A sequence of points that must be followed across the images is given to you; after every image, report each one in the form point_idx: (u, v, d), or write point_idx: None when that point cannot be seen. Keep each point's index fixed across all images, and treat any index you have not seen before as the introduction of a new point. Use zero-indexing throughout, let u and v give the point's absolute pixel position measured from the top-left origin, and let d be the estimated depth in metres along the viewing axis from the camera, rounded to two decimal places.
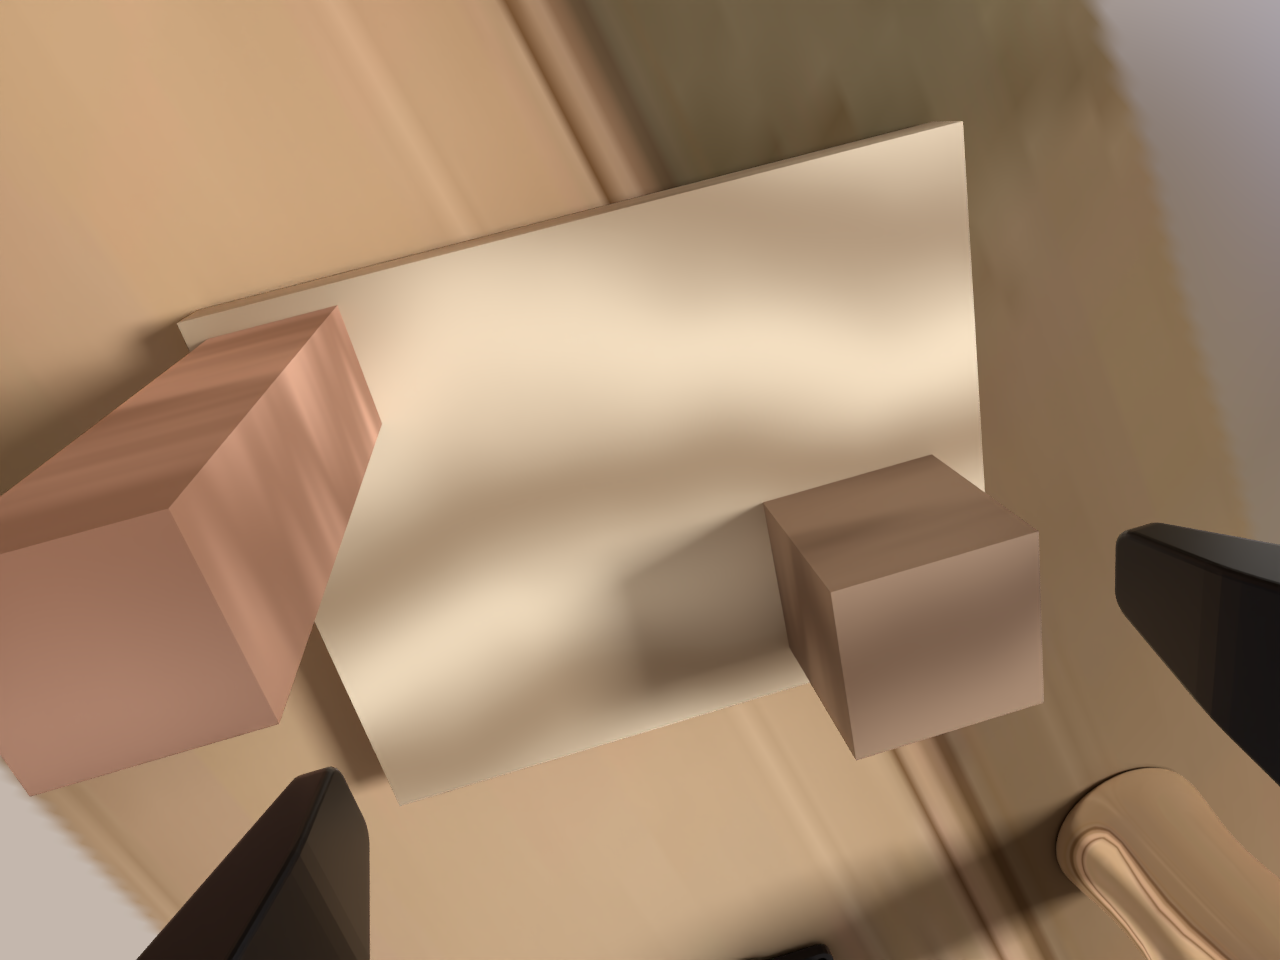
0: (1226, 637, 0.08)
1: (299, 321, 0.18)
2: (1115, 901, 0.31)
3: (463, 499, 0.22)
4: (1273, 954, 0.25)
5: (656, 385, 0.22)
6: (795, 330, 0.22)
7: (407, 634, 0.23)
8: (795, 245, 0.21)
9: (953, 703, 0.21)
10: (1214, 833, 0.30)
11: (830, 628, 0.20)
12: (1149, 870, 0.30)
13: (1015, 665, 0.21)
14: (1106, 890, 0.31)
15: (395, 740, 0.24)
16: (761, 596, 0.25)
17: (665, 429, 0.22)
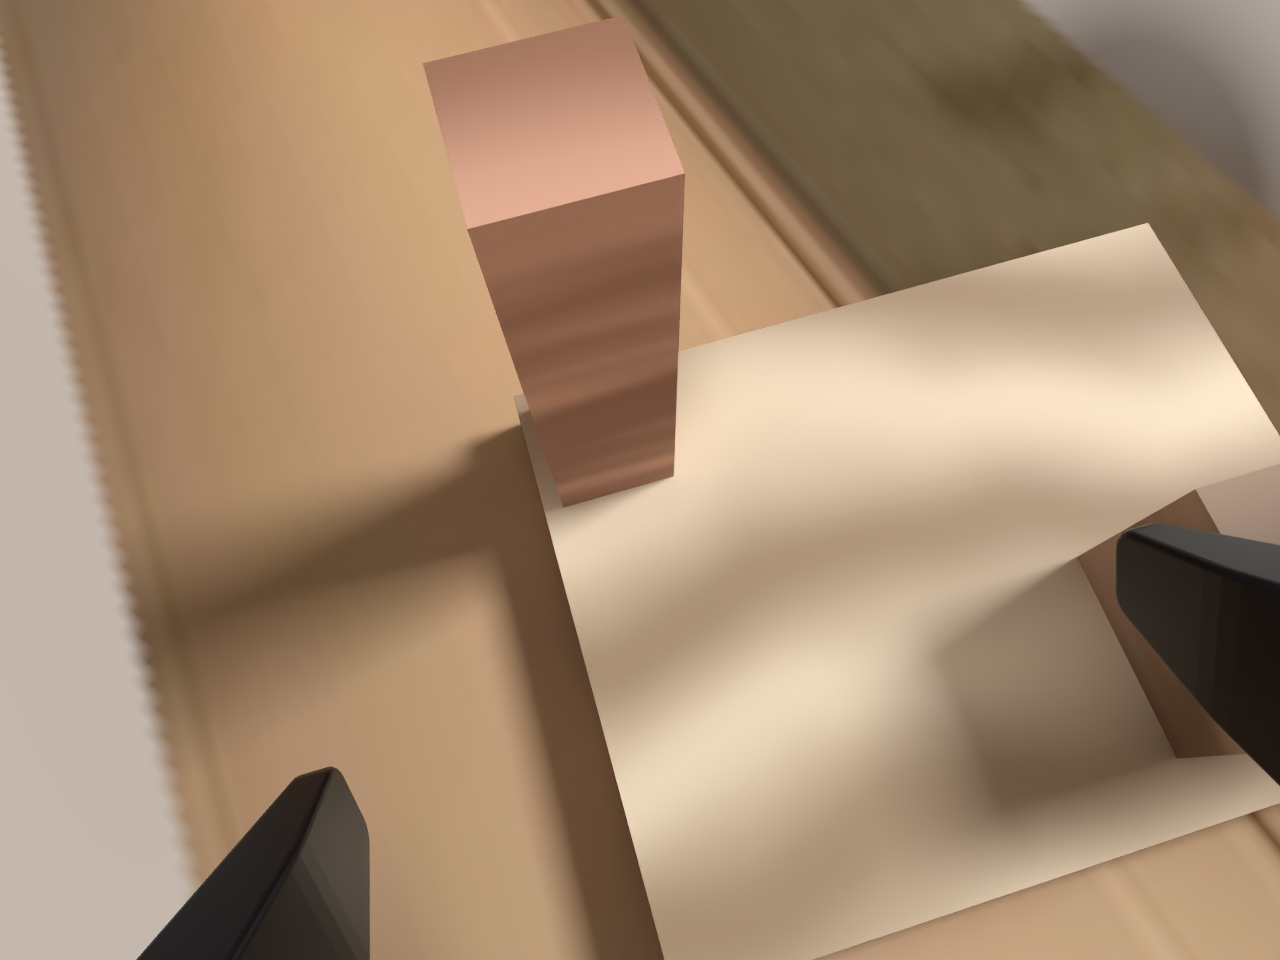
0: (1226, 637, 0.08)
1: None
2: None
3: (750, 551, 0.21)
4: None
5: (930, 436, 0.22)
6: (1055, 384, 0.23)
7: (692, 715, 0.20)
8: (1032, 316, 0.23)
9: None
10: None
11: None
12: None
13: None
14: None
15: (673, 881, 0.19)
16: (1113, 679, 0.20)
17: (948, 478, 0.22)
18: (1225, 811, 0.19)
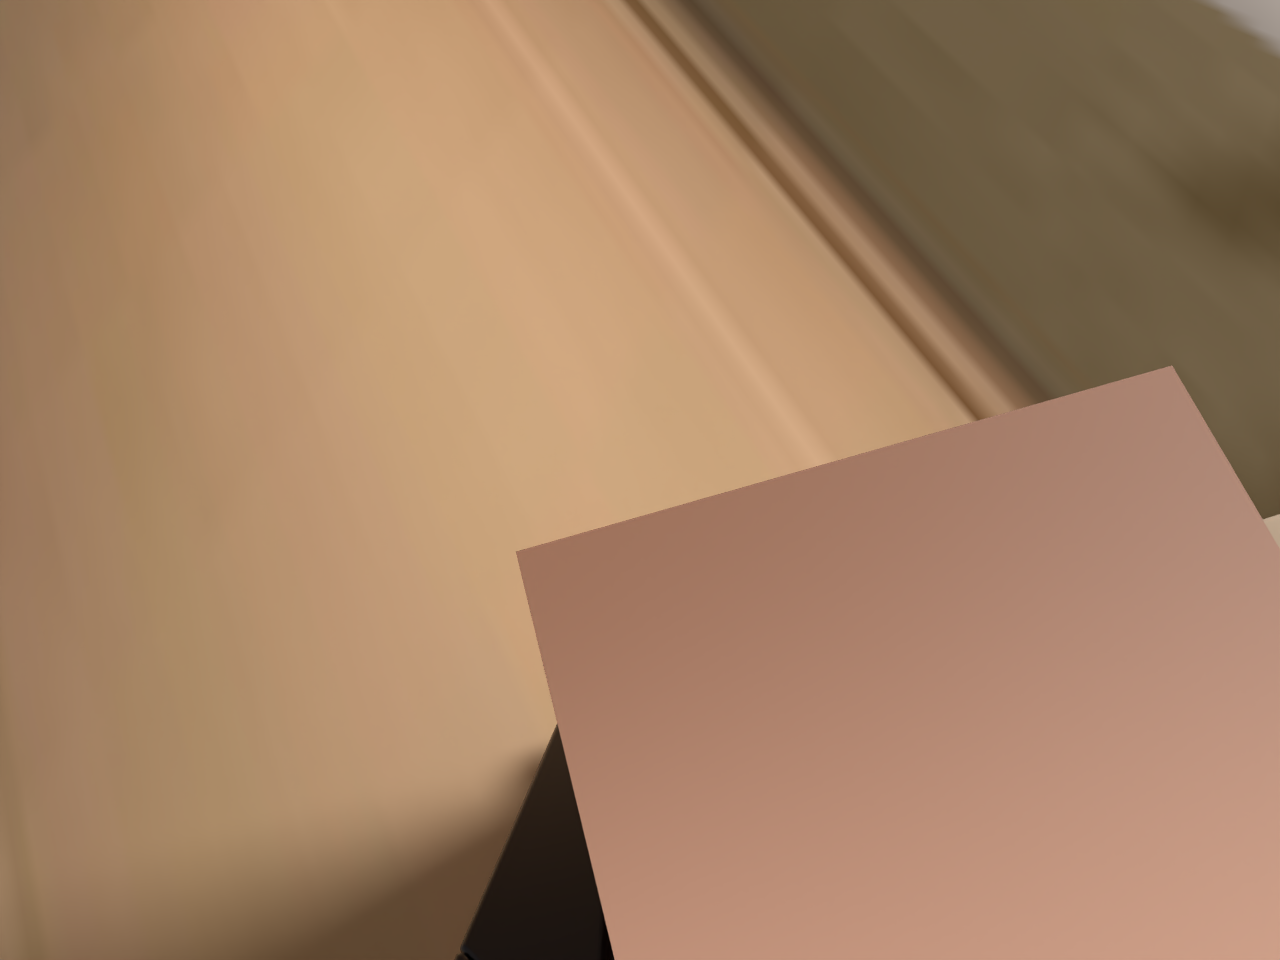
0: None
1: None
2: None
3: None
4: None
5: None
6: None
7: None
8: None
9: None
10: None
11: None
12: None
13: None
14: None
15: None
16: None
17: None
18: None
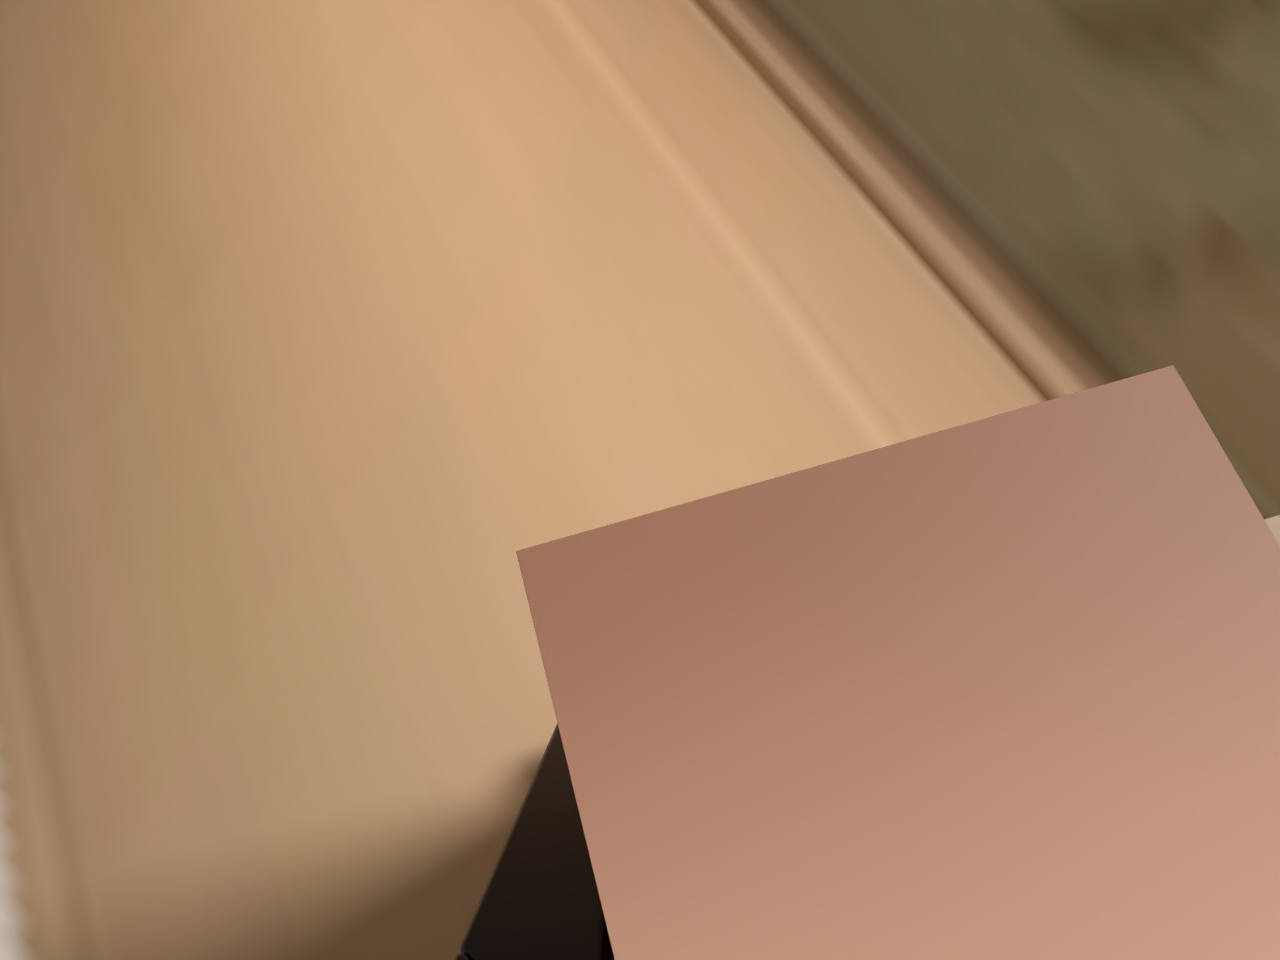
0: None
1: None
2: None
3: None
4: None
5: None
6: None
7: None
8: None
9: None
10: None
11: None
12: None
13: None
14: None
15: None
16: None
17: None
18: None
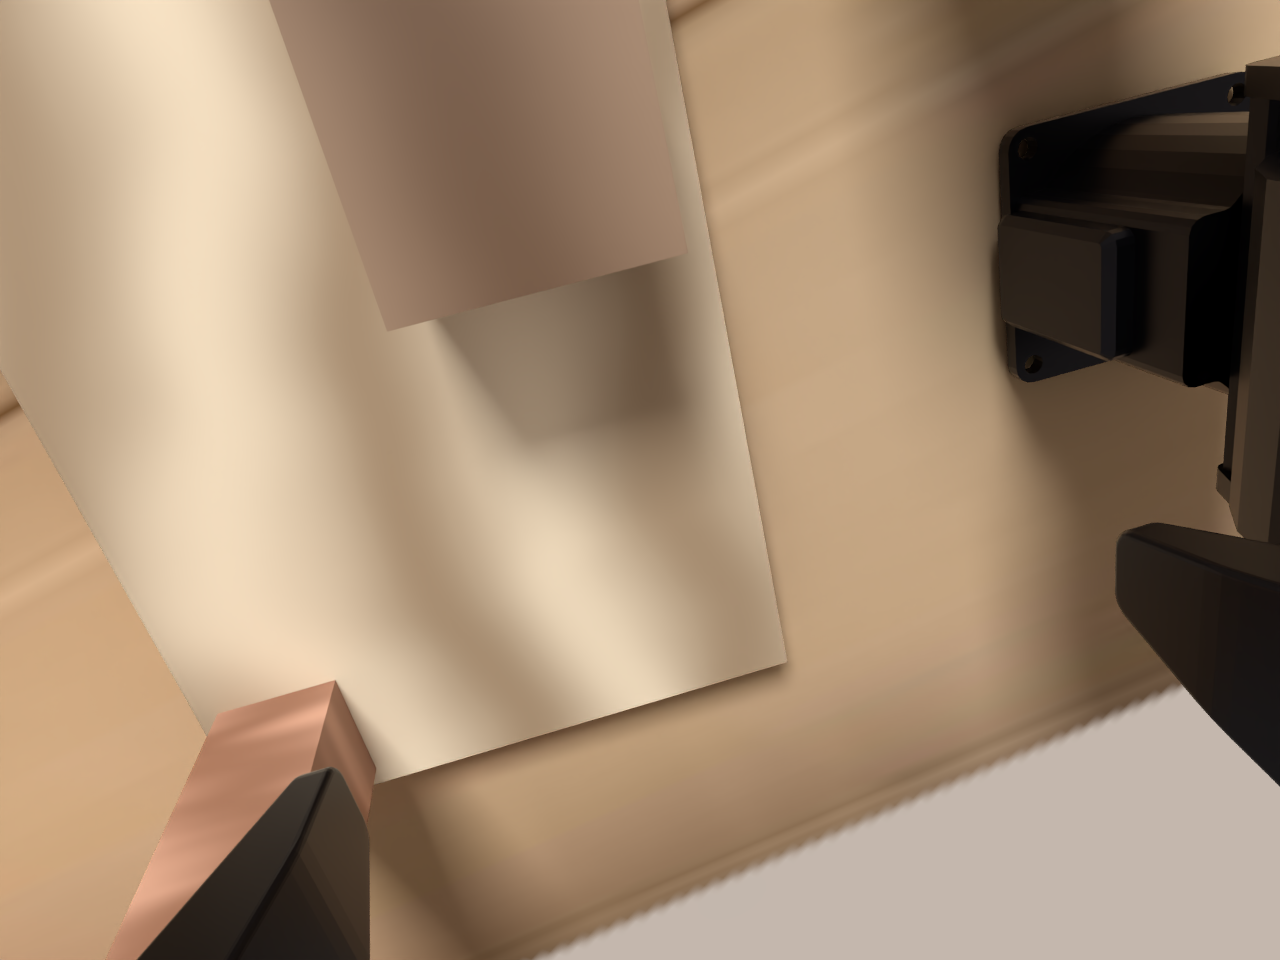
0: (1226, 637, 0.08)
1: None
2: None
3: (416, 611, 0.21)
4: None
5: (262, 423, 0.19)
6: (164, 256, 0.17)
7: (574, 657, 0.22)
8: (51, 267, 0.17)
9: (600, 90, 0.13)
10: None
11: None
12: None
13: None
14: None
15: (703, 666, 0.23)
16: None
17: (317, 410, 0.19)
18: (691, 185, 0.18)
